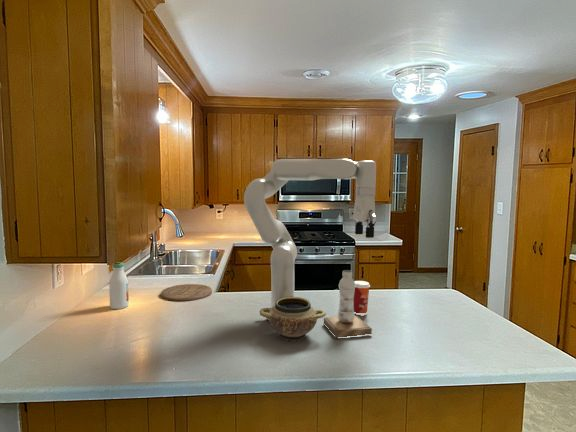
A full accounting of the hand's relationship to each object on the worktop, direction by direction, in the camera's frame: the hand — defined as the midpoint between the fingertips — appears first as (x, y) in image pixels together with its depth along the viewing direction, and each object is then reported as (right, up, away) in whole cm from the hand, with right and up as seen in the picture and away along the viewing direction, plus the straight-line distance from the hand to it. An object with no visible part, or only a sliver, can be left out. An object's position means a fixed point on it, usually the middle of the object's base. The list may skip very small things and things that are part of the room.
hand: (364, 235), depth 144 cm
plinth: (-7, -37, -3) cm, 37 cm away
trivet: (-82, -32, +42) cm, 98 cm away
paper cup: (+2, -35, +16) cm, 39 cm away
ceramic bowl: (-28, -37, -9) cm, 48 cm away
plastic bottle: (-8, -34, -3) cm, 34 cm away
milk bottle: (-106, -34, +21) cm, 114 cm away
